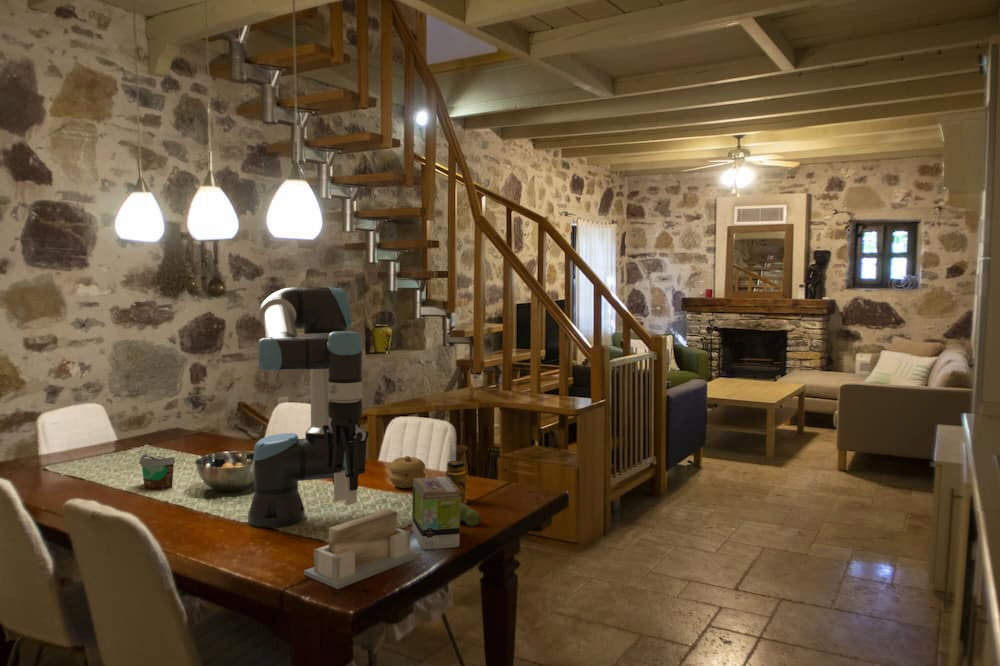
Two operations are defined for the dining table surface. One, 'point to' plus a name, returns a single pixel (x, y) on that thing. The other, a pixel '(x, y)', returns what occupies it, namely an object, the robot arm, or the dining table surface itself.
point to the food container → (157, 472)
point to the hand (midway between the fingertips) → (345, 501)
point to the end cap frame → (343, 570)
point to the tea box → (436, 512)
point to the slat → (364, 536)
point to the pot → (406, 471)
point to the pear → (469, 515)
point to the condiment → (457, 476)
